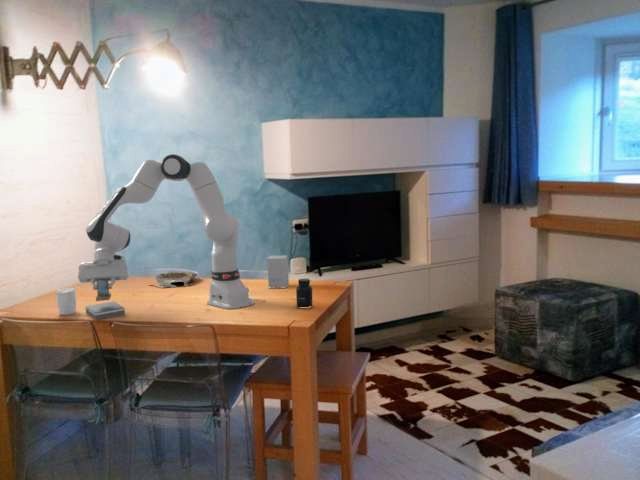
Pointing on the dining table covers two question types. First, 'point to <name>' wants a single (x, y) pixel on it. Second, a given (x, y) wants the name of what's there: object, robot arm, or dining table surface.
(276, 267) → the supplement box
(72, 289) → the white cup
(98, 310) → the dock
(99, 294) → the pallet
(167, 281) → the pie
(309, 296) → the supplement bottle
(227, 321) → the dining table surface
